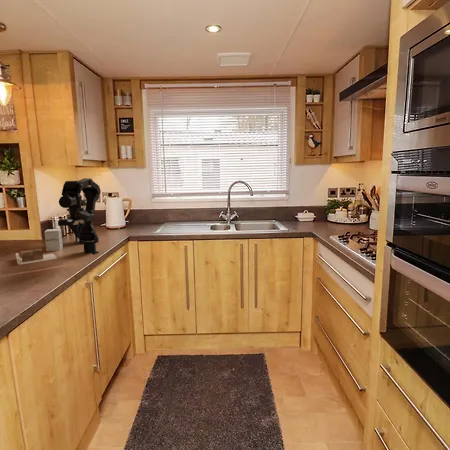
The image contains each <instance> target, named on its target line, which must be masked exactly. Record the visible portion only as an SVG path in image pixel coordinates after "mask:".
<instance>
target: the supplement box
mask: <svg viewBox="0 0 450 450" xmlns="http://www.w3.org/2000/svg"><path fill="white" fill-rule="evenodd" d="M62 237H63V236H62V228H53V229H52V228H51V229H50V228H48V229H46V230H44V240H45V241H44V242H45V248H46V249H45V250H46V252H55V251H61V250H63V246H64V245H63V238H62Z"/></svg>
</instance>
